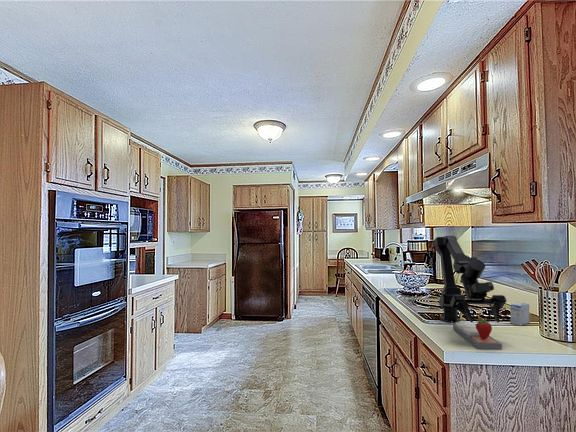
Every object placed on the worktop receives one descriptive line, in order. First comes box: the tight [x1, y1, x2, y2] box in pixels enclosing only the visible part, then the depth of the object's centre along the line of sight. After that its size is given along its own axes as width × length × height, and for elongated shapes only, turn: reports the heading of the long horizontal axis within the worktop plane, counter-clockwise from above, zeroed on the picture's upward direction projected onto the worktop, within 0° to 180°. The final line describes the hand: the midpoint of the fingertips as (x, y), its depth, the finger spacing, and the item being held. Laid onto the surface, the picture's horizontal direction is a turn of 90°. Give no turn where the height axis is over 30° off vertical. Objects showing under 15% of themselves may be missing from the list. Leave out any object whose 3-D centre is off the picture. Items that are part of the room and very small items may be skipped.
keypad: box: [452, 321, 503, 350], centre depth 138 cm, size 22×8×3 cm, turn 175°
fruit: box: [475, 317, 493, 339], centre depth 131 cm, size 5×5×8 cm
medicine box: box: [509, 301, 530, 326], centre depth 158 cm, size 8×4×9 cm, turn 123°
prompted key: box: [471, 336, 497, 343], centre depth 131 cm, size 6×6×2 cm
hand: (485, 321), depth 130 cm, fingers open, 9 cm apart
